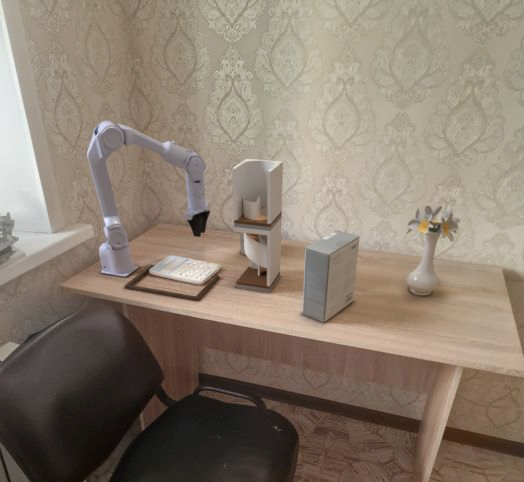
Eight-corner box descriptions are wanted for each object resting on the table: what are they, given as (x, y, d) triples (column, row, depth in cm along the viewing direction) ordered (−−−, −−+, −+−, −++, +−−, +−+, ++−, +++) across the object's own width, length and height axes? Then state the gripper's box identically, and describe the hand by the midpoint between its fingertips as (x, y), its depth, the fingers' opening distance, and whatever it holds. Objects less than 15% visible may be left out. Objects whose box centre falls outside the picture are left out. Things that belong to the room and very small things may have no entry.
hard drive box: (331, 294, 138) (337, 229, 127) (353, 301, 134) (361, 236, 123) (300, 314, 128) (304, 246, 117) (324, 323, 124) (330, 254, 113)
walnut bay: (124, 288, 141) (124, 285, 141) (151, 267, 154) (151, 264, 153) (197, 301, 135) (197, 298, 134) (219, 278, 147) (219, 275, 146)
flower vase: (447, 282, 144) (467, 202, 130) (435, 308, 131) (456, 222, 117) (405, 273, 149) (421, 195, 135) (390, 297, 136) (405, 214, 122)
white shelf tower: (248, 272, 150) (246, 158, 130) (280, 276, 148) (282, 161, 128) (236, 287, 142) (232, 168, 122) (269, 292, 139) (270, 171, 119)
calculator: (202, 286, 142) (201, 280, 141) (148, 274, 149) (147, 269, 148) (222, 269, 152) (222, 263, 151) (170, 259, 159) (170, 253, 158)
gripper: (197, 201, 141) (201, 243, 148) (216, 188, 152) (219, 228, 160) (176, 198, 142) (181, 240, 150) (197, 186, 154) (200, 226, 162)
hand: (199, 234), depth 155 cm, fingers open, 3 cm apart
